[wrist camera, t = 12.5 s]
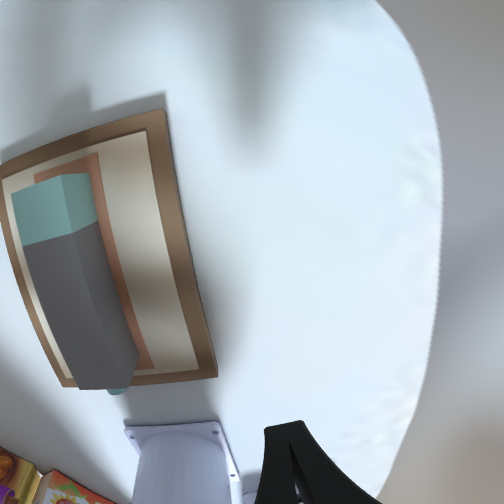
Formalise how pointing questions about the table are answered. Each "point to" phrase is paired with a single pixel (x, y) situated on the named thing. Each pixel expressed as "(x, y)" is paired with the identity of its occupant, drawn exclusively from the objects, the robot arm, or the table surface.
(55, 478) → the cracker box
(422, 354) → the table surface
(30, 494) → the candy box
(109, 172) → the wooden picture frame
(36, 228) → the marker
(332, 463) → the robot arm
